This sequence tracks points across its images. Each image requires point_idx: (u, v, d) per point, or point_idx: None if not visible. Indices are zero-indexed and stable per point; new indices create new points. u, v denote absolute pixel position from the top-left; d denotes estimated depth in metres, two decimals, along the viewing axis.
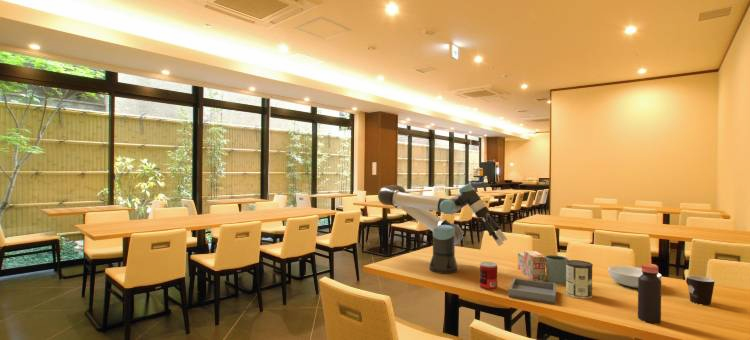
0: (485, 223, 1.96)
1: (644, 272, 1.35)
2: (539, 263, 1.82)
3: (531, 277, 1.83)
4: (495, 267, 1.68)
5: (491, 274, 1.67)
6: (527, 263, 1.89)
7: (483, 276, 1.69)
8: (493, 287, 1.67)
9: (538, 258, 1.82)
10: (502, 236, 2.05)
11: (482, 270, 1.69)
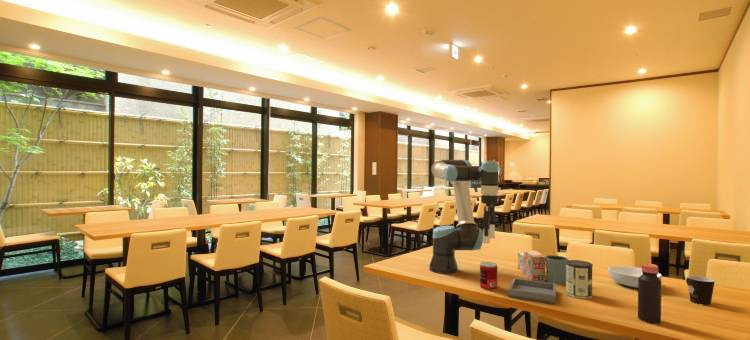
0: (485, 213, 1.64)
1: (644, 272, 1.35)
2: (539, 262, 1.82)
3: (531, 277, 1.84)
4: (495, 267, 1.68)
5: (491, 274, 1.67)
6: (527, 263, 1.89)
7: (483, 276, 1.69)
8: (493, 287, 1.67)
9: (538, 258, 1.82)
10: (492, 232, 1.77)
11: (482, 270, 1.69)
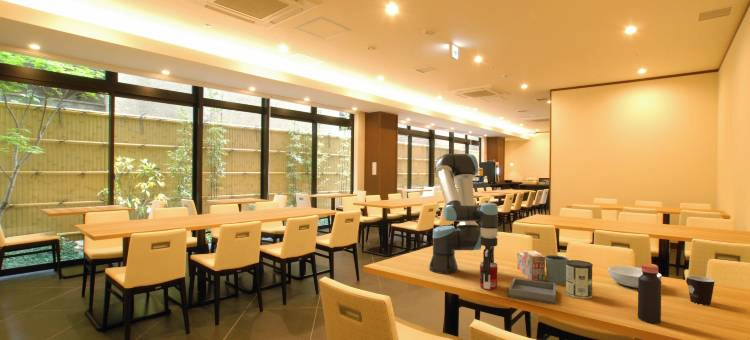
0: (485, 259, 1.65)
1: (644, 272, 1.35)
2: (539, 262, 1.82)
3: (531, 277, 1.84)
4: (495, 267, 1.68)
5: (491, 274, 1.67)
6: (526, 263, 1.90)
7: (483, 276, 1.69)
8: (493, 287, 1.67)
9: (537, 258, 1.82)
10: None
11: (482, 270, 1.69)
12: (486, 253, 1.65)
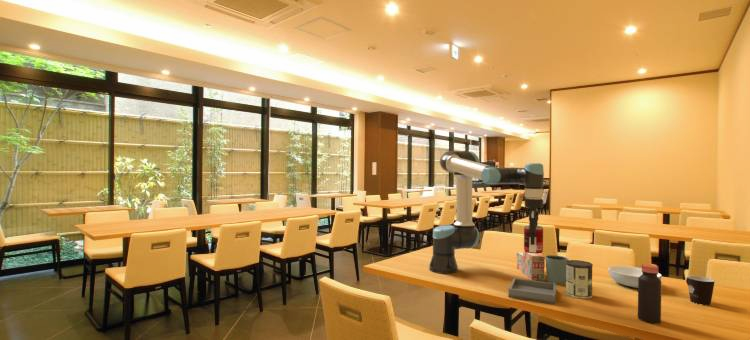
0: (531, 220, 1.56)
1: (644, 272, 1.35)
2: (538, 262, 1.83)
3: (530, 276, 1.85)
4: (541, 229, 1.59)
5: (537, 236, 1.58)
6: (526, 262, 1.90)
7: (528, 239, 1.60)
8: (539, 250, 1.59)
9: (537, 257, 1.83)
10: None
11: (527, 233, 1.60)
12: (533, 214, 1.56)
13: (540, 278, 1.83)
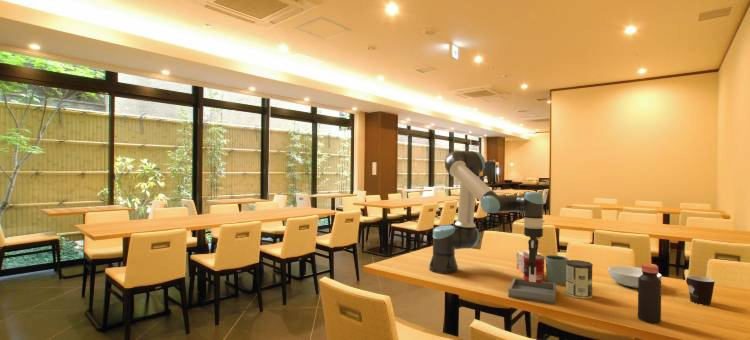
0: (531, 250, 1.56)
1: (644, 272, 1.35)
2: None
3: None
4: (541, 259, 1.59)
5: (537, 266, 1.58)
6: None
7: (528, 268, 1.60)
8: (539, 280, 1.59)
9: None
10: None
11: (527, 262, 1.60)
12: (532, 244, 1.56)
13: None
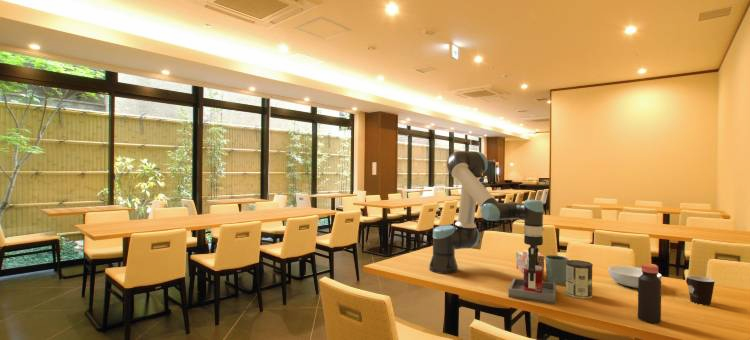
0: (531, 257, 1.56)
1: (644, 272, 1.35)
2: (538, 262, 1.83)
3: None
4: (541, 270, 1.59)
5: (537, 278, 1.59)
6: (526, 262, 1.91)
7: (527, 279, 1.60)
8: (539, 291, 1.59)
9: (537, 257, 1.83)
10: None
11: (527, 273, 1.60)
12: (532, 250, 1.56)
13: None
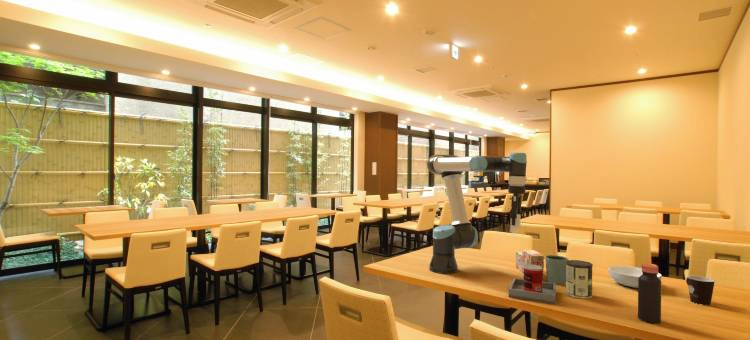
0: (513, 203, 1.68)
1: (644, 272, 1.35)
2: (538, 261, 1.84)
3: None
4: (541, 270, 1.59)
5: (537, 277, 1.59)
6: (525, 262, 1.91)
7: (527, 279, 1.60)
8: (539, 291, 1.59)
9: (536, 257, 1.84)
10: (517, 222, 1.80)
11: (527, 273, 1.60)
12: (515, 197, 1.68)
13: None
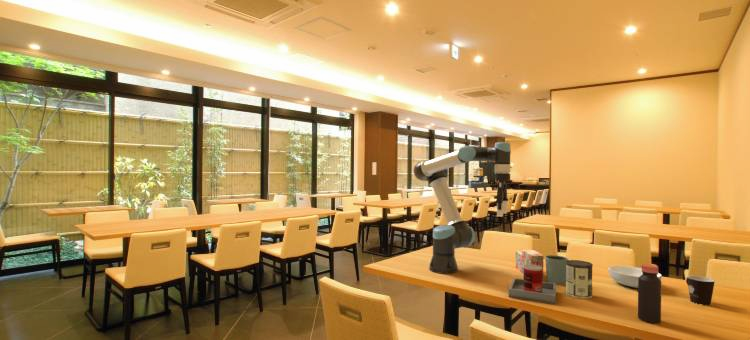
0: (499, 189, 1.80)
1: (644, 272, 1.35)
2: (537, 261, 1.84)
3: None
4: (541, 270, 1.59)
5: (537, 278, 1.59)
6: (525, 262, 1.92)
7: (527, 279, 1.60)
8: (539, 291, 1.59)
9: (536, 257, 1.84)
10: (504, 208, 1.92)
11: (527, 273, 1.60)
12: (500, 183, 1.80)
13: None
